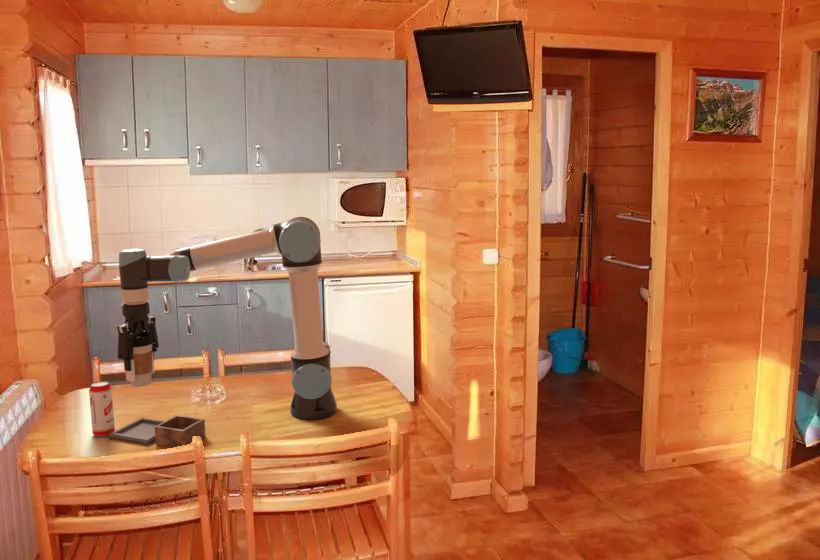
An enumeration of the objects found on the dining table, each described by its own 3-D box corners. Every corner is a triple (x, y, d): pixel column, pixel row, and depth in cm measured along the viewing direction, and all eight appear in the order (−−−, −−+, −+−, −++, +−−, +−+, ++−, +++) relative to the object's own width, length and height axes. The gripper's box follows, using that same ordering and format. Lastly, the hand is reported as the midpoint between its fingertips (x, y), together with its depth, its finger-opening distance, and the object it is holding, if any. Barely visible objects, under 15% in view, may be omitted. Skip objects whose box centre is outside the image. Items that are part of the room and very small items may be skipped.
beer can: (118, 429, 224) (114, 380, 221) (110, 437, 218) (106, 386, 215) (97, 430, 224) (93, 380, 221) (89, 438, 218) (85, 387, 215)
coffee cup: (146, 388, 213) (142, 339, 210) (120, 387, 215) (116, 337, 212) (161, 380, 221) (158, 332, 218) (136, 378, 223) (132, 330, 220)
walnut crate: (205, 438, 218) (204, 419, 217) (184, 450, 209) (183, 431, 207) (178, 433, 221) (176, 414, 220) (155, 446, 212) (154, 426, 211)
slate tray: (178, 429, 225) (178, 423, 224) (147, 446, 212) (147, 439, 211) (142, 423, 230) (141, 417, 229) (109, 439, 217) (109, 433, 216)
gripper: (148, 294, 224) (153, 365, 228) (99, 308, 205) (105, 385, 209) (168, 296, 221) (173, 368, 225) (120, 310, 203) (126, 388, 207)
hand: (140, 376), depth 217 cm, fingers closed on coffee cup, 7 cm apart
